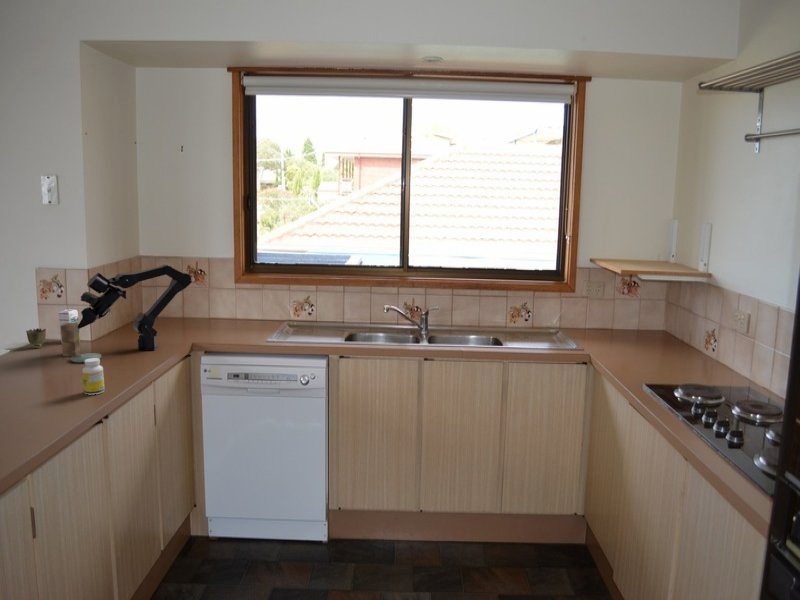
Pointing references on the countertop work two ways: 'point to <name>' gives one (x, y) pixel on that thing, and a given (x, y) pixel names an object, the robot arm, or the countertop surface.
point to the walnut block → (70, 339)
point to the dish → (85, 357)
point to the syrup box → (68, 318)
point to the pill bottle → (93, 377)
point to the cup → (36, 337)
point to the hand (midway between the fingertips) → (82, 325)
